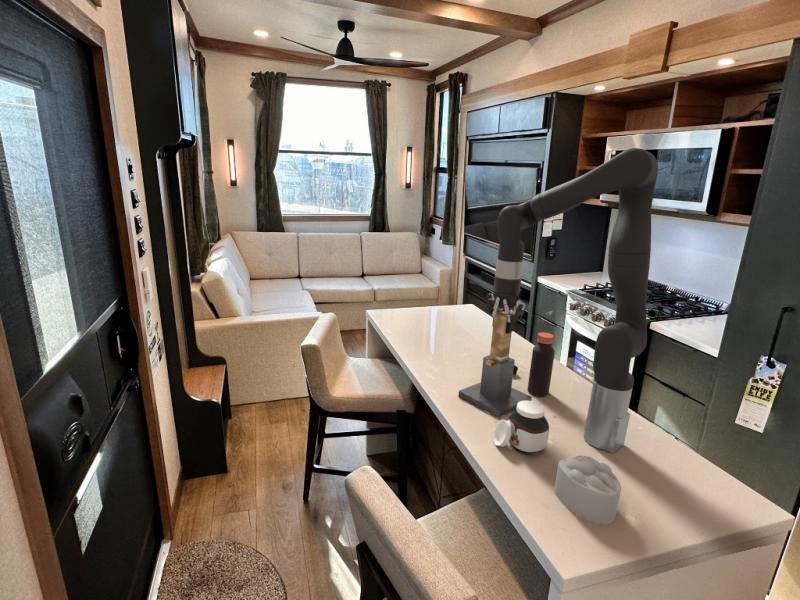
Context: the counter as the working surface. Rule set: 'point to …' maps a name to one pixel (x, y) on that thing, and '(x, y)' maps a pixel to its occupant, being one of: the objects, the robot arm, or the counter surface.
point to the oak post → (500, 339)
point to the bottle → (541, 365)
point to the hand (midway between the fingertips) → (502, 330)
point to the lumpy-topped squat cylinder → (588, 489)
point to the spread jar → (524, 428)
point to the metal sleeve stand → (495, 389)
